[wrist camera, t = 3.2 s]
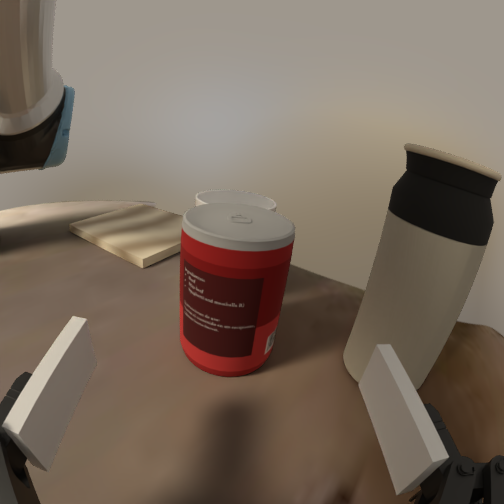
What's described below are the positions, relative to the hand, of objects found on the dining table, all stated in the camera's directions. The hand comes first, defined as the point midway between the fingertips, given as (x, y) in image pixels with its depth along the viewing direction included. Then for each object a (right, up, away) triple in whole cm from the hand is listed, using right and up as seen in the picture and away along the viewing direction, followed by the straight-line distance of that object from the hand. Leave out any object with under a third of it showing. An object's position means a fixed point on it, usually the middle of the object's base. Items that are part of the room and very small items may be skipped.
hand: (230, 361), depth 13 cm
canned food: (-1, -3, +12) cm, 13 cm away
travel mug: (+12, -5, +11) cm, 18 cm away
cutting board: (-16, +8, +32) cm, 37 cm away
